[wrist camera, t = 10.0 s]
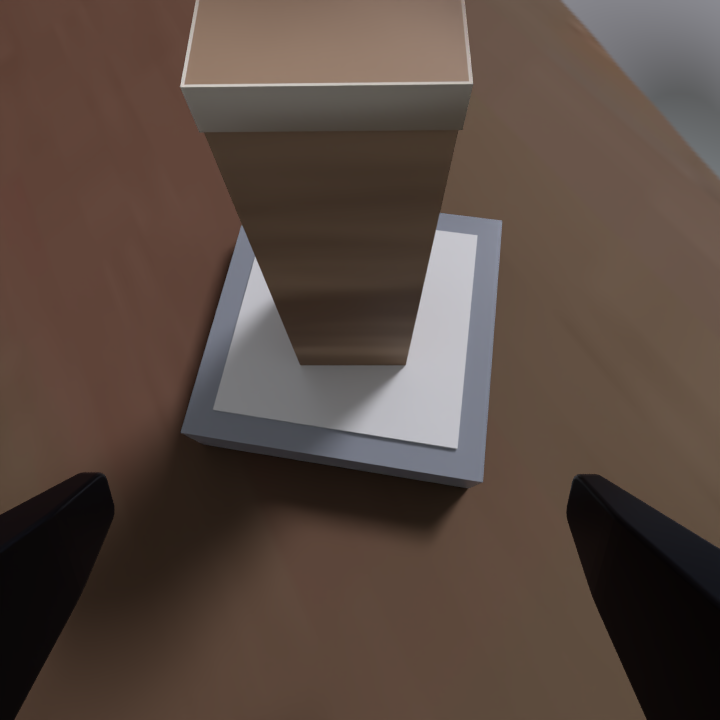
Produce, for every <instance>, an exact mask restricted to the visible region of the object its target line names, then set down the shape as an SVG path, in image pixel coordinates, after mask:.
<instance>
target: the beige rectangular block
mask: <svg viewBox="0 0 720 720" xmlns="http://www.w3.org/2000/svg"><path fill="white" fill-rule="evenodd" d="M472 87H473V78H472V69H471V59H470V49H469V39H468V29H467V20H466V10H465V0H196V4H195V9H194V15H193V20H192V26H191V31H190V37H189V42H188V48H187V53H186V59H185V64H184V70H183V75H182V80H181V86H180V88H181V90H182V92H183V95H184V97H185V100H186V102H187V104H188V107H189V109H190V111H191V114H192V116H193V118H194V121H195V123H196V125H197V128H198V130H199V132H204V134H205V136H206V138H207V141H208V143H209V146H210V148H211V151H212V153H213V155H214V158H215V160H216V163H217V165H218V168H219V170H220V172H221V175H222V177H223V180H224V182H225V184H226V187H227V189H228V192H229V194H230V197H231V199H232V201H233V204H234V206H235V209H236V211H237V214H238V216H239V218H240V221H241V223H242V226H243V228H244V231H245V233H246V235H247V238H248V240H249V243H250V245H251V247H252V250H253V252H254V255H255V257H256V260H257V262H258V264H259V267H260V269H261V272H262V274H263V277H264V279H265V281H266V284H267V286H268V289H269V291H270V294H271V296H272V298H273V301H274V303H275V306H276V308H277V311H278V313H279V315H280V318H281V320H282V323H283V325H284V327H285V330H286V332H287V335H288V337H289V340H290V342H291V344H292V347H293V349H294V352H295V354H296V357H297V359H298V361H299V364H300V365H406V362H407V357H408V353H409V348H410V344H411V340H412V335H413V331H414V326H415V322H416V317H417V313H418V308H419V304H420V299H421V295H422V290H423V286H424V281H425V277H426V272H427V268H428V263H429V259H430V255H431V250H432V246H433V241H434V237H435V232H436V228H437V223H438V219H439V214H440V210H441V205H442V201H443V196H444V192H445V187H446V183H447V179H448V174H449V170H450V165H451V161H452V156H453V152H454V147H455V143H456V138H457V134H458V130H462V129H463V125H464V121H465V117H466V112H467V108H468V104H469V99H470V95H471V91H472Z"/></svg>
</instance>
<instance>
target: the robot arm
mask: <svg viewBox="0 0 720 720" xmlns="http://www.w3.org/2000/svg"><path fill="white" fill-rule="evenodd" d="M566 513H567V520H568V524H569V527H570V530H571V533H572V536H573V539H574V542H575V545H576V548H577V552H578V555H579V558H580V561H581V564H582V567H583V570H584V573H585V576H586V579H587V582H588V585H589V588H590V591H591V594H592V597H593V599H594V602H595V604H596V606H597V609H598V611H599V614H600V616H601V618H602V620H603V622H604V625H605V627H606V629H607V631H608V634H609V636H610V638H611V640H612V643H613V645H614V647H615V649H616V652H617V654H618V656H619V658H620V661H621V663H622V665H623V667H624V670H625V672H626V674H627V676H628V679H629V681H630V683H631V685H632V688H633V690H634V692H635V694H636V697H637V699H638V701H639V703H640V706H641V708H642V710H643V712H644V715H645V717H646V719H647V720H720V549H719V548H718V547H716V546H714V545H713V544H711V543H709V542H708V541H706V540H704V539H703V538H701V537H700V536H698V535H696V534H695V533H693V532H691V531H690V530H688V529H687V528H685V527H683V526H682V525H680V524H678V523H677V522H675V521H674V520H672V519H670V518H669V517H667V516H665V515H664V514H662V513H660V512H659V511H657V510H656V509H654V508H652V507H651V506H649V505H647V504H646V503H644V502H643V501H641V500H639V499H638V498H636V497H634V496H633V495H631V494H630V493H628V492H626V491H625V490H623V489H621V488H620V487H618V486H616V485H615V484H613V483H612V482H610V481H608V480H607V479H605V478H603V477H602V476H600V475H597V474H578V475H576V476H575V477H574V479H573V481H572V486H571V490H570V495H569V499H568V504H567V511H566ZM113 517H114V503H113V499H112V496H111V492H110V489H109V485H108V481H107V478H106V476H105V475H104V474H102V473H99V472H84V473H79V474H77V475H75V476H73V477H71V478H69V479H67V480H65V481H64V482H62V483H60V484H58V485H56V486H54V487H52V488H50V489H48V490H47V491H45V492H43V493H41V494H39V495H37V496H35V497H33V498H31V499H29V500H28V501H26V502H24V503H22V504H20V505H18V506H16V507H14V508H12V509H11V510H9V511H7V512H5V513H3V514H1V515H0V720H14V719H15V717H16V715H17V714H18V712H19V710H20V708H21V706H22V704H23V702H24V701H25V699H26V697H27V695H28V693H29V691H30V689H31V687H32V686H33V684H34V682H35V680H36V678H37V676H38V674H39V673H40V671H41V669H42V667H43V665H44V663H45V661H46V660H47V658H48V656H49V654H50V652H51V650H52V648H53V646H54V645H55V643H56V641H57V639H58V637H59V635H60V633H61V632H62V630H63V628H64V626H65V624H66V622H67V620H68V619H69V617H70V615H71V613H72V611H73V609H74V607H75V605H76V603H77V601H78V599H79V597H80V596H81V594H82V591H83V589H84V587H85V585H86V583H87V580H88V578H89V575H90V573H91V571H92V568H93V566H94V563H95V561H96V559H97V556H98V554H99V551H100V549H101V547H102V544H103V542H104V539H105V537H106V535H107V532H108V530H109V527H110V525H111V522H112V520H113Z"/></svg>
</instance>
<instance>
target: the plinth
mask: <svg viewBox="0 0 720 720" xmlns="http://www.w3.org/2000/svg"><path fill="white" fill-rule="evenodd" d="M501 230H502V221H500V220H492V219H484V218H476V217H468V216H460V215H452V214H444V213H440V214H439V219H438V223H437V228H436V232H435V237H434V241H433V246H432V250H431V255H430V259H429V263H428V268H427V272H426V277H425V281H424V286H423V290H422V295H421V299H420V304H419V308H418V313H417V317H416V322H415V326H414V331H413V335H412V340H411V344H410V348H409V353H408V357H407V362H406V365H300V364H299V361H298V359H297V357H296V354H295V352H294V349H293V347H292V344H291V342H290V340H289V337H288V335H287V332H286V330H285V327H284V325H283V323H282V320H281V318H280V315H279V313H278V311H277V308H276V306H275V303H274V301H273V298H272V296H271V294H270V291H269V289H268V286H267V284H266V281H265V279H264V277H263V274H262V272H261V269H260V267H259V264H258V262H257V260H256V257H255V255H254V252H253V250H252V247H251V245H250V243H249V240H248V238H247V235H246V233H245V231H244V228H243V226H241V229H240V232H239V236H238V239H237V243H236V246H235V249H234V253H233V256H232V260H231V263H230V266H229V270H228V273H227V276H226V280H225V283H224V287H223V290H222V293H221V297H220V300H219V304H218V307H217V310H216V314H215V317H214V321H213V324H212V327H211V331H210V334H209V338H208V341H207V344H206V348H205V351H204V355H203V358H202V361H201V365H200V368H199V372H198V375H197V378H196V382H195V385H194V388H193V392H192V395H191V399H190V402H189V405H188V409H187V412H186V416H185V419H184V422H183V426H182V429H181V433H182V434H184V435H186V436H188V437H190V438H192V439H194V440H195V441H197V442H199V443H201V444H203V445H209V446H215V447H221V448H227V449H233V450H239V451H245V452H251V453H258V454H264V455H270V456H276V457H282V458H288V459H294V460H300V461H306V462H312V463H318V464H324V465H330V466H336V467H342V468H348V469H354V470H360V471H366V472H372V473H378V474H384V475H390V476H397V477H403V478H409V479H415V480H421V481H427V482H433V483H439V484H445V485H451V486H457V487H463V488H471V487H473V486H475V485H478V484H480V483H482V482H483V472H484V459H485V445H486V432H487V418H488V405H489V391H490V378H491V364H492V351H493V337H494V324H495V311H496V297H497V284H498V270H499V257H500V243H501Z"/></svg>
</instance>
